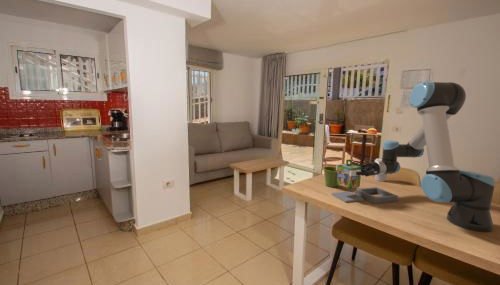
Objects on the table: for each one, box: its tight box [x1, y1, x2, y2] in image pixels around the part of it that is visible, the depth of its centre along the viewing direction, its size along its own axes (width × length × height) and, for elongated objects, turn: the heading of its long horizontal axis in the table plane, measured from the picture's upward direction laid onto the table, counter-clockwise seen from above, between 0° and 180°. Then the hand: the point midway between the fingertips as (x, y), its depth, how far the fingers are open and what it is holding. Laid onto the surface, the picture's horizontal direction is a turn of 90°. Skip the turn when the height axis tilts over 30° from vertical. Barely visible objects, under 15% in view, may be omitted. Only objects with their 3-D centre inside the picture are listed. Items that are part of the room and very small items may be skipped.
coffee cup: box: [373, 157, 388, 182], centre depth 168 cm, size 10×10×15 cm
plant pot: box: [322, 166, 338, 188], centre depth 154 cm, size 12×12×11 cm
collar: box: [354, 186, 399, 205], centre depth 136 cm, size 15×15×3 cm
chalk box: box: [337, 159, 362, 190], centre depth 133 cm, size 9×9×15 cm
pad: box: [331, 191, 365, 203], centre depth 135 cm, size 12×12×1 cm
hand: (343, 170), depth 132 cm, fingers closed on chalk box, 11 cm apart
